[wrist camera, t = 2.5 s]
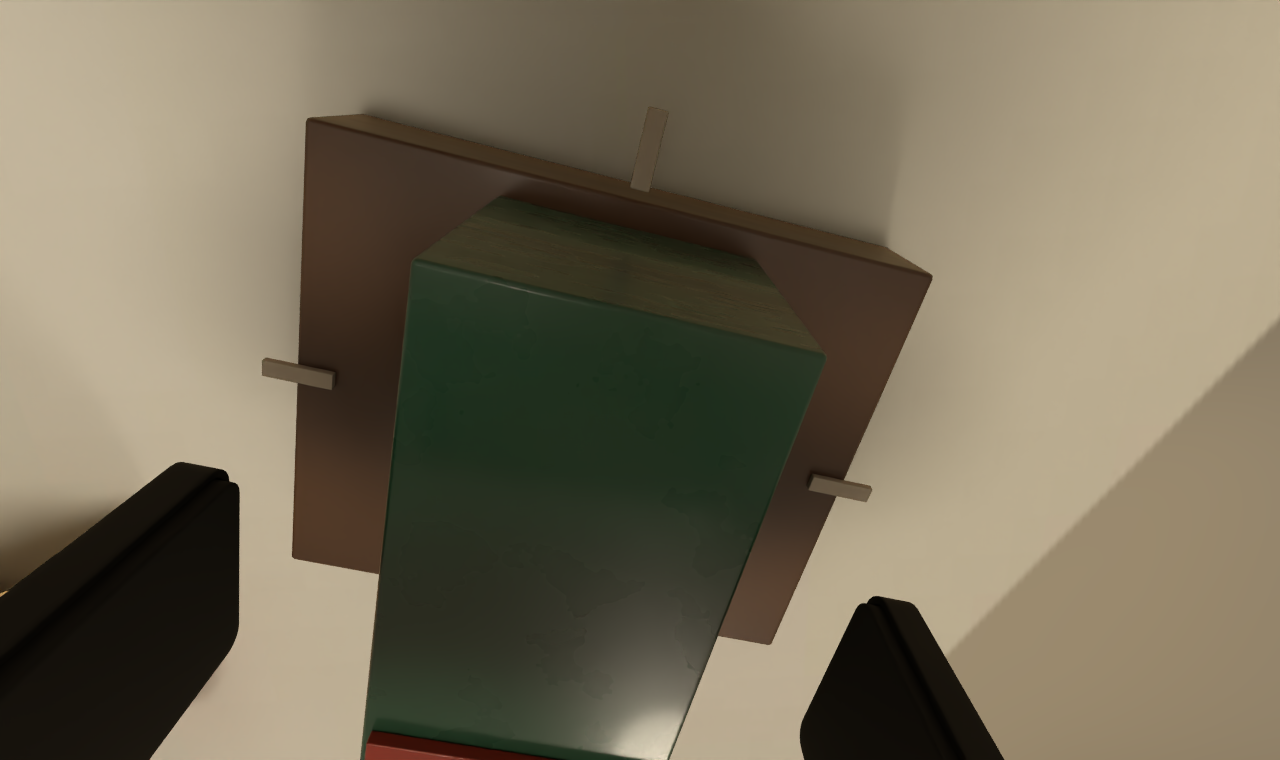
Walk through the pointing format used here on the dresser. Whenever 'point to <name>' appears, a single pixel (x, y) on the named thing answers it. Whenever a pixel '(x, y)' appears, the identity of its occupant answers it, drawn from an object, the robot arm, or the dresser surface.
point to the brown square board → (477, 174)
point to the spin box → (572, 484)
